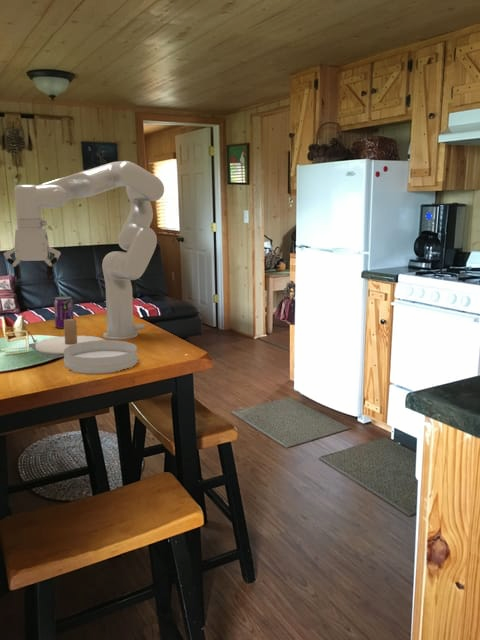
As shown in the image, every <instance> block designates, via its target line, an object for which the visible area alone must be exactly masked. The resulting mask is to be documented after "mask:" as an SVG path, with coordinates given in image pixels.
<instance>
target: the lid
mask: <svg viewBox="0 0 480 640" xmlns="http://www.w3.org/2000/svg"><path fill="white" fill-rule="evenodd" d="M63 331H64V332H63V333H64V336H56V337H51V338H46V339H43V340H40V341H38V342H36V343H37V344H36V345H35V348H36V350H37V351H36V350H35V351H36V352H38V351H39V352H38V353H40V352H42V353H46V354H57V355H64V349H65V348H67V347H68V346H71V345H74V344H77V343H82V342H88V341H99V340H105V338H102V337H98V336H94V335H93V336H92V335H88V336H86V335H77V333H78V330H77V319H66V320H64V328H63ZM42 353H41V354H42Z"/></svg>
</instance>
